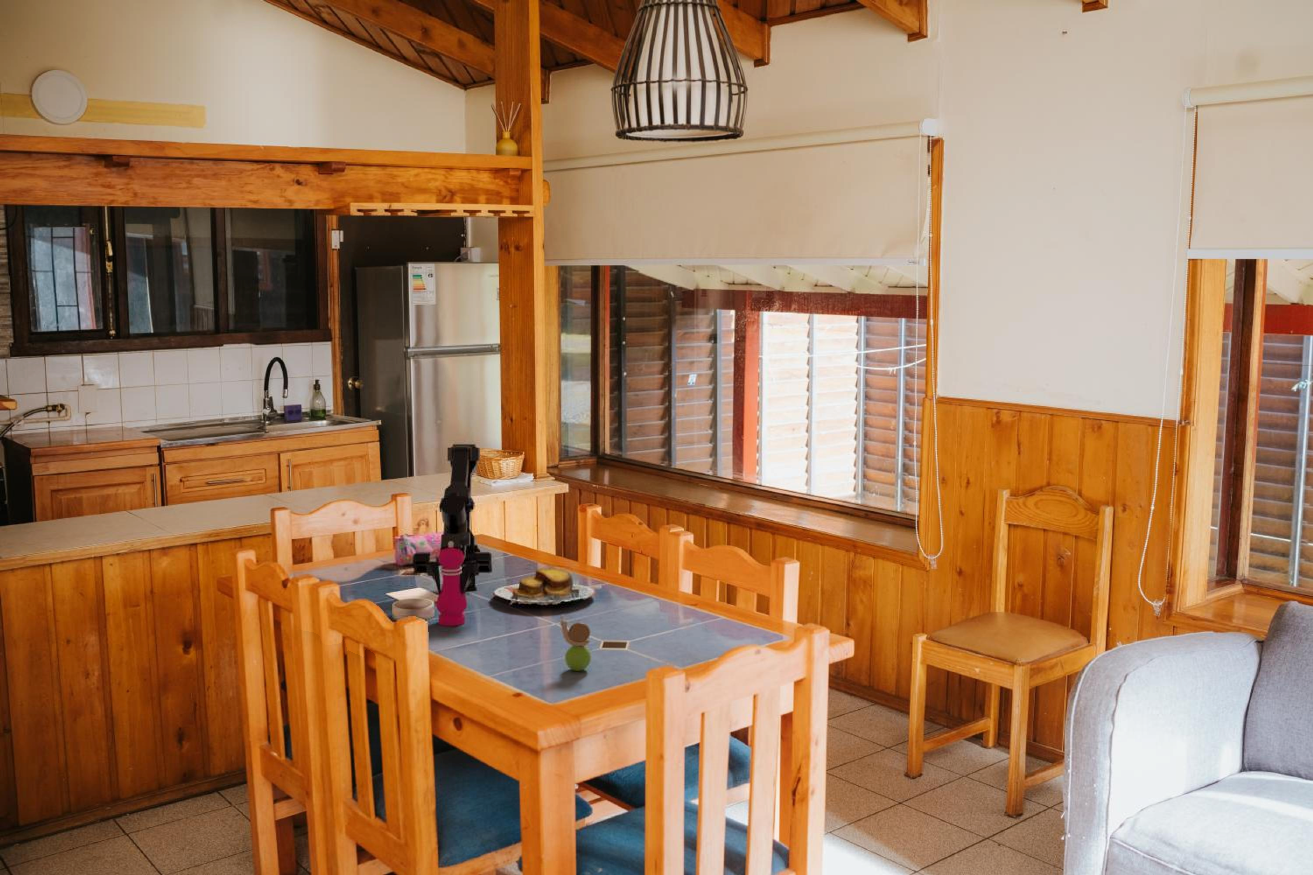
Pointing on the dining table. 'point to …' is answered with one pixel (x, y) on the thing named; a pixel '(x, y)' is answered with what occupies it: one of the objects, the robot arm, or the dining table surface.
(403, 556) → the pencil case
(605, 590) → the dining table surface
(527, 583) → the food on plate
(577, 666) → the snail figurine
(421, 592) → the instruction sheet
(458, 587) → the pepper mill
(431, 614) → the round bowl
